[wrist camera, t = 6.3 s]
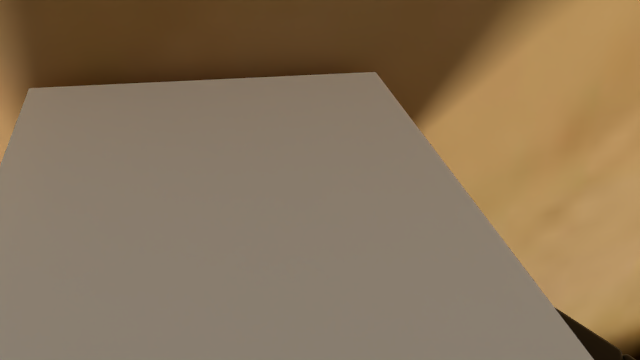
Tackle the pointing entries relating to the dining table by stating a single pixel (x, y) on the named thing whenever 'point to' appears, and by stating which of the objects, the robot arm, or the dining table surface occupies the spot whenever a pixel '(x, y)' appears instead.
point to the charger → (251, 231)
